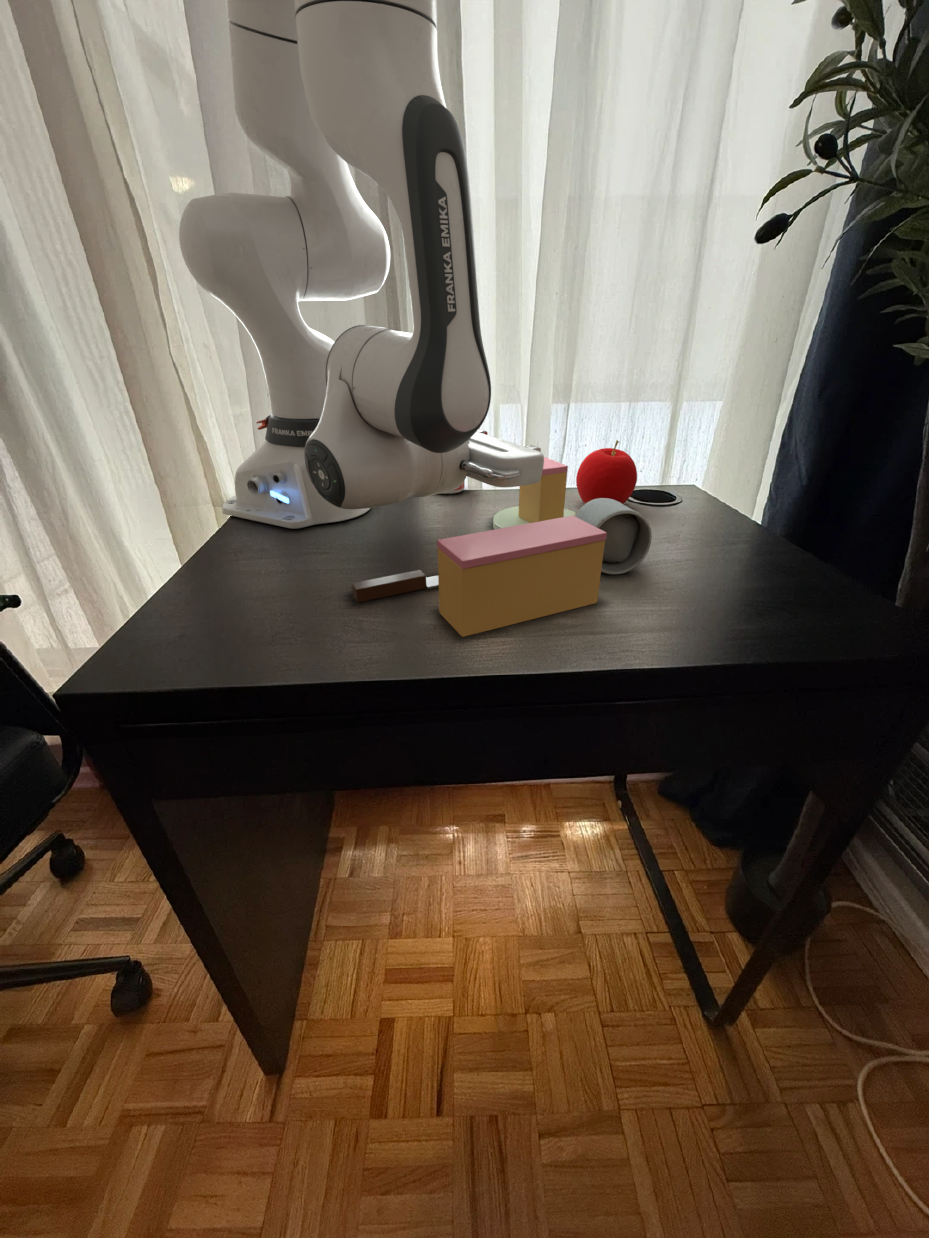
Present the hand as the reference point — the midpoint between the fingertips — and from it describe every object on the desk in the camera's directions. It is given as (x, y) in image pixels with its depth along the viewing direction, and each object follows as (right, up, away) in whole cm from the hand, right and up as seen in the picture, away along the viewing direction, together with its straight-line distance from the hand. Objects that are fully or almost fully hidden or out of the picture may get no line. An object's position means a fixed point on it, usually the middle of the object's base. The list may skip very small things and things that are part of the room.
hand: (508, 444), depth 77 cm
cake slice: (+5, -10, +3) cm, 11 cm away
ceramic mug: (+10, -17, -8) cm, 21 cm away
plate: (+5, -11, +4) cm, 12 cm away
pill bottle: (-9, -2, +19) cm, 21 cm away
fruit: (+16, -6, +12) cm, 21 cm away
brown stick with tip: (-9, -20, -12) cm, 25 cm away
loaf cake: (0, -23, -18) cm, 29 cm away
